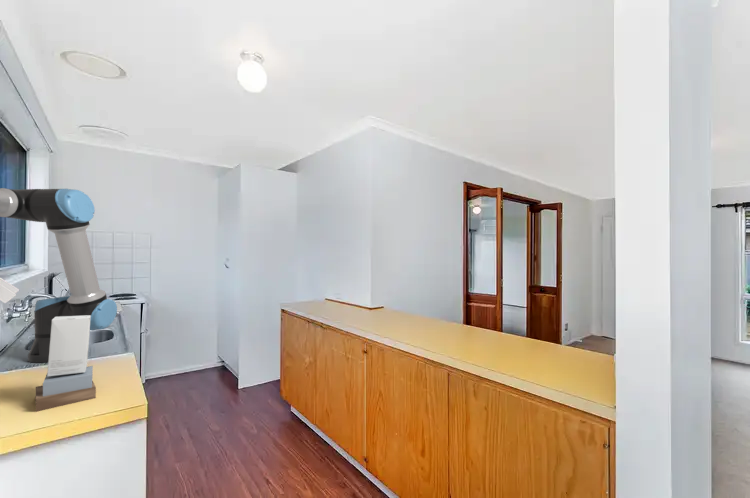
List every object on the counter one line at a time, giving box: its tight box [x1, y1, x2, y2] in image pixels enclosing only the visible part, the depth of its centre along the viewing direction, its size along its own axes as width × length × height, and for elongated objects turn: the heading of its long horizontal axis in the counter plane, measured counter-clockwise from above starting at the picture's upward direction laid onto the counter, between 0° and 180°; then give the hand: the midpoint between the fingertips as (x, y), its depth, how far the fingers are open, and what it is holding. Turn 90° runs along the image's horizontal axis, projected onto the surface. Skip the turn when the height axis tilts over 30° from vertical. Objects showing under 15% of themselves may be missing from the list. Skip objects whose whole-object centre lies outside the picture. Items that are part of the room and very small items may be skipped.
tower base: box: [34, 379, 97, 413], centre depth 98 cm, size 12×12×4 cm
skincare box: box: [46, 315, 91, 377], centre depth 99 cm, size 8×7×16 cm
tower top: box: [42, 365, 94, 396], centre depth 99 cm, size 10×10×4 cm
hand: (13, 296), depth 91 cm, fingers open, 13 cm apart
